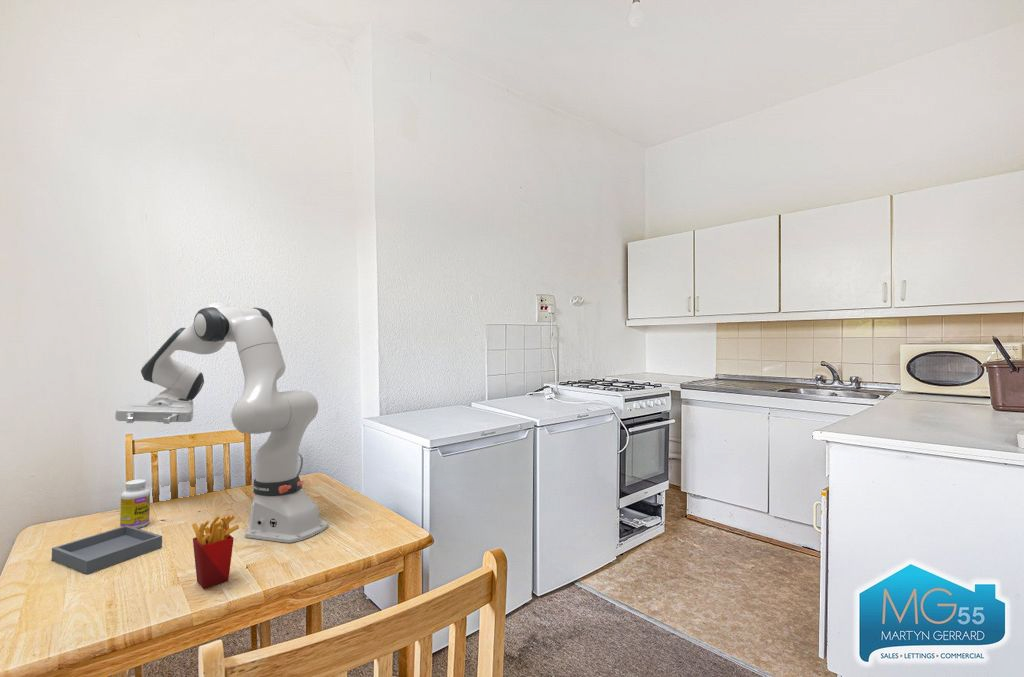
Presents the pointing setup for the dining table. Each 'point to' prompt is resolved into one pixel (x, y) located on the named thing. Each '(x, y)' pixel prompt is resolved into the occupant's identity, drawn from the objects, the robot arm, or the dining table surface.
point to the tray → (106, 549)
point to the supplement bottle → (135, 504)
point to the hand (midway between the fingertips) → (147, 421)
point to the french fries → (213, 551)
